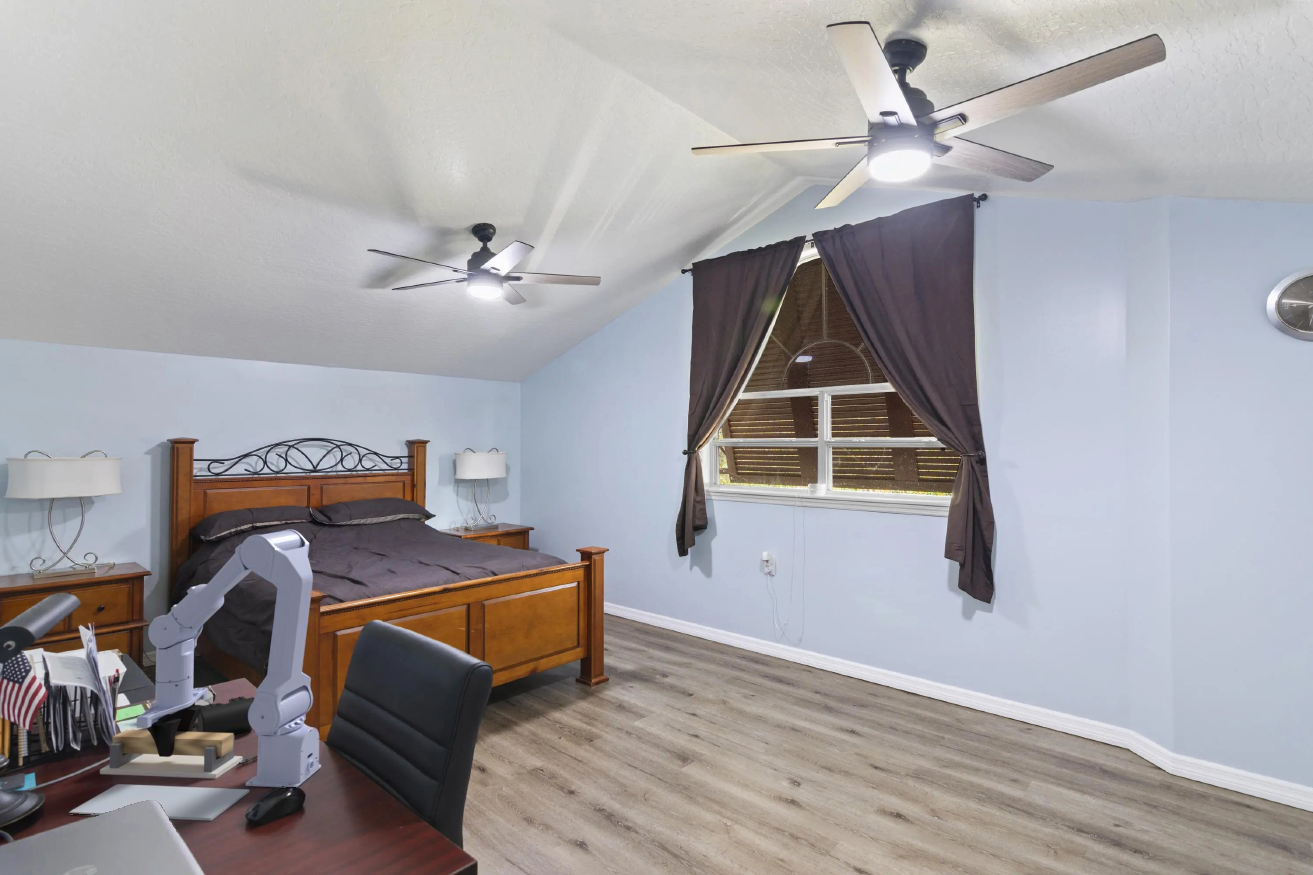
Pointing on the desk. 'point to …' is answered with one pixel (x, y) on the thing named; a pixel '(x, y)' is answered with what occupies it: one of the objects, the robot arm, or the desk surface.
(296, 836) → the desk surface
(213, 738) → the oak rail
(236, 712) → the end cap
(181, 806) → the rubber mat
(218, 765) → the hook rack
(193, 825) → the desk surface
